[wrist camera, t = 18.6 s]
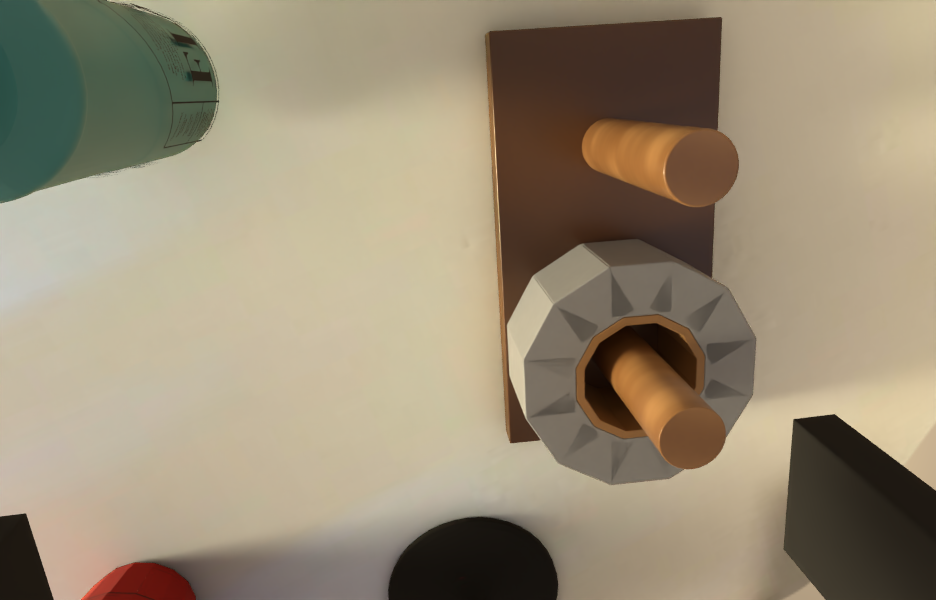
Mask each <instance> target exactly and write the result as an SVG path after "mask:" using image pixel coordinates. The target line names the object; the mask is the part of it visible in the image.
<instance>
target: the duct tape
mask: <svg viewBox="0 0 936 600" xmlns="http://www.w3.org/2000/svg"><path fill="white" fill-rule="evenodd" d="M651 323H657V324H658V350H657V353H658V354H659V355H660V356H661V357H662V358H663V359H664V360H665V361H666V362H667V363H668V364H669V365H670V366H671V367H672V368H673V369H674V371H675V372H676V373H677V374H678V375H679V376H680V377H681V378H682V379H683V380H684V381H685V382H686V383H687V384H688V385H689V386H690V387H691V388H692V389H693V390H694V391H695V392H696V393H697V394H698V395H699V396H700V397H701V398H702V399H703V400H704V401H705V402H706V403H707V404H708V405H709V406H710V407H711V408H712V409H713V410H714V411H715V412H716V413H717V414H718V415H719V416H720V417H721V419H722V420H723V422H724V425H725V429H726V437H727V435H728V434H729V432H730V430H731V429H732V427H733V426H734V424H735V422H736V421H737V419H738V418H739V416H740V415H741V413H742V411H743V410H744V408H745V407H746V405H747V403H748V402H749V400H750V399H751V397H752V395H753V384H754V367H755V350H756V337H755V335H754V333H753V331H752V329H751V328H750V326H749V324H748V322H747V321H746V319H745V317H744V315H743V314H742V312H741V310H740V308H739V306H738V305H737V303H736V301H735V299H734V298H733V296H732V294H731V292H730V290H729V289H728V288H727V287H726V286H724V285H722V284H721V283H719V282H717V281H716V280H714V279H712V278H711V277H709V276H707V275H706V274H704V273H702V272H700V271H699V270H697V269H695V268H694V267H692V266H690V265H689V264H687V263H685V262H683V261H681V260H679V259H677V258H675V257H673V256H671V255H669V254H667V253H665V252H663V251H661V250H659V249H657V248H655V247H653V246H651V245H649V244H647V243H645V242H643V241H641V240H639V239H629V240H617V241H605V242H593V243H583V244H580V245H578V246H577V247H575V248H574V249H572V250H571V251H569V252H568V253H566V254H565V255H563V256H562V257H560V258H559V259H557V260H556V261H554V262H553V263H551V264H549V265H548V266H546V267H545V268H543V269H542V270H540V271H539V272H537V273H536V274H534V276H532V278H531V280H530V282H529V284H528V286H527V288H526V289H525V291H524V293H523V295H522V297H521V299H520V301H519V303H518V305H517V307H516V308H515V310H514V312H513V314H512V316H511V318H510V320H509V322H508V324H507V336H508V356H509V376H510V379H511V381H512V384H513V387H514V389H515V392H516V394H517V397H518V400H519V402H520V405H521V408H522V410H523V413H524V415H525V418H526V420H527V421H528V423H529V424H530V425H531V427H532V428H533V430H534V431H535V432H536V434H537V435H538V437H539V438H540V439H541V441H542V442H543V444H544V445H545V446H546V448H547V449H548V450H549V452H550V453H551V455H552V456H553V457H554V459H555V460H556V462H557V463H559V464H560V465H563V466H565V467H568V468H570V469H573V470H575V471H578V472H580V473H583V474H585V475H587V476H590V477H592V478H595V479H597V480H600V481H602V482H605V483H607V484H609V485H615V484H625V483H634V482H643V481H652V480H662V479H669V478H671V477H673V476H674V475H676V474H677V473H679V472H681V471H682V470H684V469H681V468H677V467H674V466H673V465H671V464H669V463H668V462H667V461H666V460H665V459H664V458H663V456H662V455H661V454H660V452H659V451H658V449H657V448H656V447H655V445H654V444H653V443H652V441H651V440H650V438H649V437H648V436H647V434H646V433H645V431H644V430H643V429H642V427H641V426H640V425H639V423H638V422H637V420H636V419H635V418H634V416H633V415H632V413H631V412H630V411H629V409H628V408H627V407H626V405H625V404H624V402H623V401H622V400H621V398H620V397H619V395H618V394H617V393H616V391H615V390H614V388H613V387H606V388H595V387H593V386H591V385H589V384H586V383H585V368H586V366H587V364H588V362H589V361H590V359H591V357H592V355H593V354H594V352H595V350H596V348H597V346H598V345H599V343H600V342H602V341H603V340H605V339H606V338H608V337H609V336H611V335H612V334H614V333H616V332H617V331H619V330H620V329H622V328H623V327H625V326H629V325H640V324H651Z"/></svg>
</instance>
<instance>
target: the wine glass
mask: <svg viewBox="0 0 936 600" xmlns="http://www.w3.org/2000/svg"><path fill="white" fill-rule="evenodd" d="M557 593H558V581H557V573H556V570H555V567H554V564H553V561H552V559H551V557H550V555H549V553H548V551H547V550H546V548H545V547H544V546H543V545H542V543H541V542H540V541H539V540H538V539H537V538H536V537H534V536H533V535H532V534H531V533H530V532H528V531H526V530H525V529H523V528H521V527H520V526H517V525H515V524H512V523H510V522H507V521H503V520H499V519H494V518H484V517H476V518H464V519H459V520H454V521H451V522H448V523H445V524H442V525H439V526H437V527H435V528H433V529H431V530H429V531H428V532H426V533H425V534H423V535H422V536H420V537H419V538H417V539H416V540H415V541H414V542H413V543H412V544H411V545H409V546H408V547H407V549H406V550H405V551H404V553H403V554H402V555H401V556H400V558H399V560H398V562H397V563H396V565H395V567H394V570H393V572H392V575H391V578H390V583H389V589H388V599H389V600H556V599H557Z"/></svg>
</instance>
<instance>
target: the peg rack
mask: <svg viewBox="0 0 936 600" xmlns="http://www.w3.org/2000/svg"><path fill="white" fill-rule="evenodd" d="M721 31H722V18H721V17H716V18H700V19H683V20H667V21H650V22H634V23H618V24H601V25H585V26H568V27H552V28H536V29H519V30H503V31H490V32H488V33H487V34H486V35H485V43H486V62H487V81H488V99H489V118H490V137H491V156H492V175H493V193H494V212H495V231H496V250H497V269H498V287H499V306H500V325H501V344H502V363H503V381H504V400H505V419H506V431H507V434H508V438H509V441H510V443H518V442H528V441H538V440H541V439H540V438H539V437H538V435H537V434H536V432H535V431H534V430H533V428H532V427H531V425H530V424H529V423H528V421H527V420H526V418H525V415H524V413H523V410H522V408H521V405H520V402H519V400H518V397H517V394H516V392H515V389H514V387H513V384H512V381H511V379H510V376H509V356H508V336H507V324H508V322H509V320H510V318H511V316H512V314H513V312H514V310H515V308H516V307H517V305H518V303H519V301H520V299H521V297H522V295H523V293H524V291H525V289H526V288H527V286H528V284H529V282H530V280H531V278H532V276H534V274H536V273H537V272H539V271H540V270H542V269H543V268H545V267H546V266H548V265H549V264H551V263H553V262H554V261H556V260H557V259H559V258H560V257H562V256H563V255H565V254H566V253H568V252H569V251H571V250H572V249H574V248H575V247H577V246H578V245H580V244H583V243H593V242H605V241H617V240H629V239H639V240H641V241H643V242H645V243H647V244H649V245H651V246H653V247H655V248H657V249H659V250H661V251H663V252H665V253H667V254H669V255H671V256H673V257H675V258H677V259H679V260H681V261H683V262H685V263H687V264H689V265H690V266H692V267H694V268H695V269H697V270H699V271H700V272H702V273H704V274H706V275H707V276H709V277H711V278H712V259H713V234H714V209H715V202H717V201H719V200H720V199H721V198H723V197H724V196H725V195H726V194H727V193H728V192H729V190H730V189H731V187H732V186H733V184H734V182H735V180H736V177H737V174H738V168H739V160H738V154H737V151H736V148H735V146H734V145H733V143H732V141H731V140H730V139H729V138H728V137H727V136H726V135H724V134H723V133H721V132H719V131H718V107H719V82H720V56H721ZM657 350H658V324H657V323H651V324H640V325H629V326H625V327H623V328H622V329H620V330H619V331H617V332H616V333H614V334H612V335H611V336H609V337H608V338H606V339H605V340H603V341H602V342H600V343H599V345H598V346H597V348H596V350H595V352H594V354H593V355H592V357H591V359H590V361H589V362H588V364H587V366H586V368H585V383H586V384H589V385H591V386H593V387H595V388H606V387H613V388H614V390H615V391H616V393H617V394H618V395H619V397H620V398H621V400H622V401H623V402H624V404H625V405H626V407H627V408H628V409H629V411H630V412H631V413H632V415H633V416H634V418H635V419H636V420H637V422H638V423H639V425H640V426H641V427H642V429H643V430H644V431H645V433H646V434H647V436H648V437H649V438H650V440H651V441H652V443H653V444H654V445H655V447H656V448H657V449H658V451H659V452H660V454H661V455H662V456H663V458H664V459H665V460H666V461H667V462H668V463H669V464H671V465H673V466H674V467H677V468H681V469H695V468H699V467H702V466H704V465H706V464H708V463H709V462H711V461H712V460H713V459H714V458H716V456H717V455H718V454H719V453H720V451H721V450H722V448H723V446H724V443H725V439H726V429H725V425H724V422H723V420H722V419H721V417H720V416H719V415H718V414H717V413H716V412H715V411H714V410H713V409H712V408H711V407H710V406H709V405H708V404H707V403H706V402H705V401H704V400H703V399H702V398H701V397H700V396H699V395H698V394H697V393H696V392H695V391H694V390H693V389H692V388H691V387H690V386H689V385H688V384H687V383H686V382H685V381H684V380H683V379H682V378H681V377H680V376H679V375H678V374H677V373H676V372H675V371H674V369H673V368H672V367H671V366H670V365H669V364H668V363H667V362H666V361H665V360H664V359H663V358H662V357H661V356H660V355H659V354H658V353H657Z"/></svg>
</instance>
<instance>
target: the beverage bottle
mask: <svg viewBox="0 0 936 600" xmlns="http://www.w3.org/2000/svg"><path fill="white" fill-rule="evenodd" d="M123 3H124V2H123ZM119 4H120V5H119ZM130 4H131V3H130ZM123 5H127V4H123ZM123 5H122V4H121V3H119V2H118V4H116V3H115V2H109V1H107V0H0V203H4V202H8V201H13V200H16V199H19V198H21V197H24V196H27V195H29V194H31V193H33V192H35V191H38V190H42V189H46V188H49V187H53V186H57V185H60V184H64V183H67V182H71V181H75V180H78V179H82V178H86V177H89V176H93V175H95V176H96V174H97V176H98V174H99V175H100V173H104V174H105V172H107V173H108V172H109V173H111V172H110V171H115V170H117V171H118V170H119V169H123V168H127V167H132V166H135V165H136V166H137V167H138V166H140V165H141V164H144V163H145V164H146V163H147V164H148V163H149V164H150V161H154V160H158V159H161V158H165V157H169V156H173V155H175V154H178V153H181V152H182V151H184V150H186V149H188V148H189V147H191V146H192V145H194V144H195V143H196V142H198V141H201V140H199V139H200V138H201V137H202V136H203V134H204V133H205V132H206V130H208V129H209V127H210V123H211V121H212V120H213V119H212V118H213V117H214V112H215V107H216V102H218V103H219V99H218V101H217V88H216V80H215V75H214V71H213V68H212V65H211V63H210V60H209V59H208V56H207V55H206V52H204V51H203V48H201V46H200V43H201V42H200V43H199V42H198V43H197V42H196V40H195V37H196V36H195V35H194V34H193V33H192V32H191V31H190V32H191V33H192V34H193V35H194V36H195V37H194V36H193V35H192V34H191V35H192V36H193V37H192V36H191V35H190V34H188V33H187V32H186V31H185V30H184V29H182V28H181V27H180V26H179V25H178V24H179V23H178V21H177V23H178V24H175V22H176V21H175V22H174V21H173V22H174V23H173V22H171V21H172V20H171V19H169V18H167V19H169V20H171V21H169V20H167V19H164V18H166V16H165V17H164V16H162V17H164V18H162V17H159V16H161V15H159V14H157V15H159V16H156V15H152V14H149V13H146V12H143V11H144V10H146V9H147V8H145V9H144V10H143V11H139V10H138V9H137V10H136V8H135V9H133V8H132V7H134V6H136V7H138V8H142V9H143V7H140V6H137V5H134V4H132V6H131V5H130V7H129V6H127V7H126V6H123ZM133 5H134V6H133ZM148 10H149V9H148ZM148 10H147V11H148ZM149 12H151V11H149ZM152 13H154V12H152ZM158 13H159V12H158ZM154 14H156V12H155V13H154ZM170 18H171V17H170ZM180 24H181V23H180ZM181 26H182V25H181ZM184 27H185V26H184ZM196 38H197V37H196ZM201 44H202V43H201ZM203 47H204V46H203ZM205 50H206V49H205ZM207 53H208V52H207ZM208 55H209V54H208ZM209 57H210V56H209ZM210 59H211V58H210ZM211 61H212V60H211ZM212 63H213V62H212ZM213 66H214V65H213ZM214 69H215V68H214ZM215 72H216V70H215ZM216 76H217V74H216ZM217 80H218V79H217ZM218 89H219V85H218ZM217 110H218V107H217ZM216 114H217V112H216ZM215 117H216V116H215ZM214 120H215V119H214ZM213 122H214V121H213ZM212 125H213V124H212ZM211 127H212V126H211ZM207 128H208V129H207ZM210 129H211V128H210ZM208 132H209V131H208ZM207 134H208V133H207ZM203 139H204V138H203ZM203 139H202V140H203ZM155 163H156V162H155ZM136 166H135V168H136ZM149 166H150V165H149ZM144 167H145V166H144ZM133 168H134V167H133ZM139 168H141V167H139ZM142 168H143V167H142ZM107 173H106V174H107ZM112 173H114V172H112ZM116 173H117V172H116ZM108 175H110V174H108ZM111 176H112V175H111ZM105 177H106V176H105ZM92 178H94V177H92Z"/></svg>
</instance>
